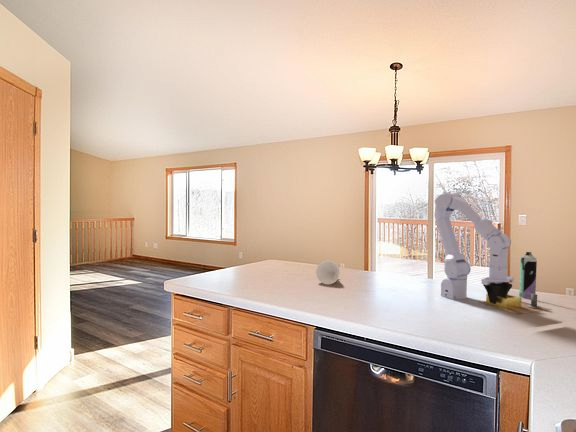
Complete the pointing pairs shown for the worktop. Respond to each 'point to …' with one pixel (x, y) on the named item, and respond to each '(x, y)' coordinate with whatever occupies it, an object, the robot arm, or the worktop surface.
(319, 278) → the grey rounded lump
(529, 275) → the spray can
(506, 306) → the golden square frame
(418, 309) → the worktop surface
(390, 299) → the worktop surface
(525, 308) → the board
